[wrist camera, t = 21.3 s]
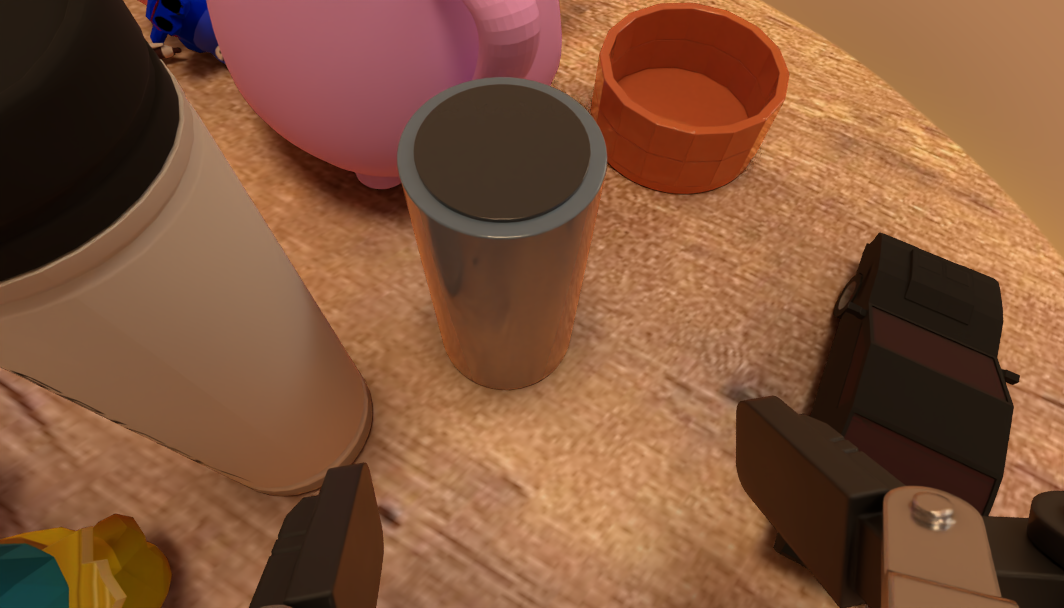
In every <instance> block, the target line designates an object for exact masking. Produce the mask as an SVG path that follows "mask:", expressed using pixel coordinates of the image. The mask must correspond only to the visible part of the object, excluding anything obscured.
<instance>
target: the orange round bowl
mask: <svg viewBox="0 0 1064 608" xmlns="http://www.w3.org/2000/svg"><path fill="white" fill-rule="evenodd" d="M788 80H789V72H788V69H787V66H786V64H785V61H784V59H783V56H782V54H781V51H780V49H779V47H778V46H777V45H776V44H775V43H774V42H773V41H772V40H771V39H770V38H769V37H768V36H767V35H766V34H765V33H764V32H763V31H762V30H761V29H760V28H759V27H757V26H756V25H754V24H752V23H750V22H748V21H746V20H744V19H742V18H741V17H739V16H737V15H735V14H733V13H731V12H729V11H727V10H723V9H718V8H714V7H710V6H705V5H701V4H697V3H661V4H657V5H653V6H650V7H647V8H644V9H641V10H638V11H635V12H632V13H630V14H628V15H627V16H626V17H625V18H623V19H622V20H621V21H620V22H619V23H617V24H616V25H615V26H614V27H612V28H611V29H610V30H609V31H608V34H607V36H606V39H605V41H604V44H603V46H602V48H601V51H600V54H599V60H598V66H597V73H596V79H595V86H594V92H593V98H592V105H591V116H592V117H593V118H594V120H595V121H596V123H597V125H598V126H599V128H600V130H601V132H602V135H603V137H604V140H605V144H606V148H607V159H608V160H607V162H608V163H609V164H610V165H611V166H612V167H613V168H614V169H615V170H616V171H618V172H619V173H620V174H622V175H623V176H625V177H626V178H628V179H630V180H632V181H633V182H636V183H638V184H640V185H642V186H645V187H648V188H651V189H654V190H658V191H662V192H668V193H677V194H691V193H700V192H705V191H710V190H713V189H716V188H719V187H721V186H723V185H725V184H727V183H729V182H731V181H732V180H733V179H735V178H736V177H738V176H739V175H740V174H741V173H742V172H743V171H744V170H745V168H746V167H747V166H748V164H749V162H750V161H751V159H752V158H753V157H754V156H755V154H756V153H757V151H758V149H759V147H760V145H761V143H762V142H763V140H764V138H765V136H766V134H767V132H768V130H769V128H770V127H771V125H772V123H773V121H774V119H775V117H776V116H777V114H778V112H779V110H780V108H781V106H782V104H783V102H784V101H785V98H786V92H787V86H788Z"/></svg>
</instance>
